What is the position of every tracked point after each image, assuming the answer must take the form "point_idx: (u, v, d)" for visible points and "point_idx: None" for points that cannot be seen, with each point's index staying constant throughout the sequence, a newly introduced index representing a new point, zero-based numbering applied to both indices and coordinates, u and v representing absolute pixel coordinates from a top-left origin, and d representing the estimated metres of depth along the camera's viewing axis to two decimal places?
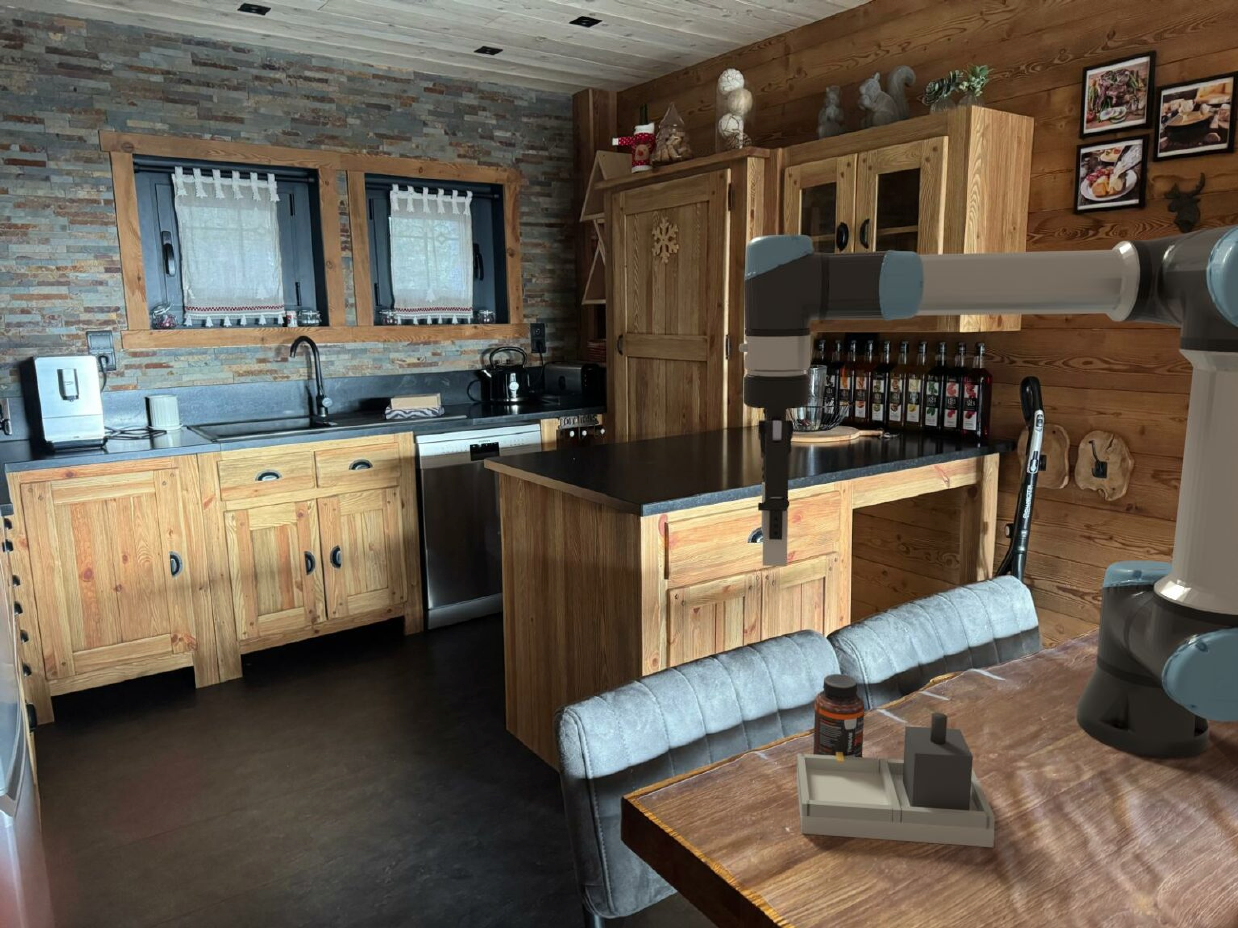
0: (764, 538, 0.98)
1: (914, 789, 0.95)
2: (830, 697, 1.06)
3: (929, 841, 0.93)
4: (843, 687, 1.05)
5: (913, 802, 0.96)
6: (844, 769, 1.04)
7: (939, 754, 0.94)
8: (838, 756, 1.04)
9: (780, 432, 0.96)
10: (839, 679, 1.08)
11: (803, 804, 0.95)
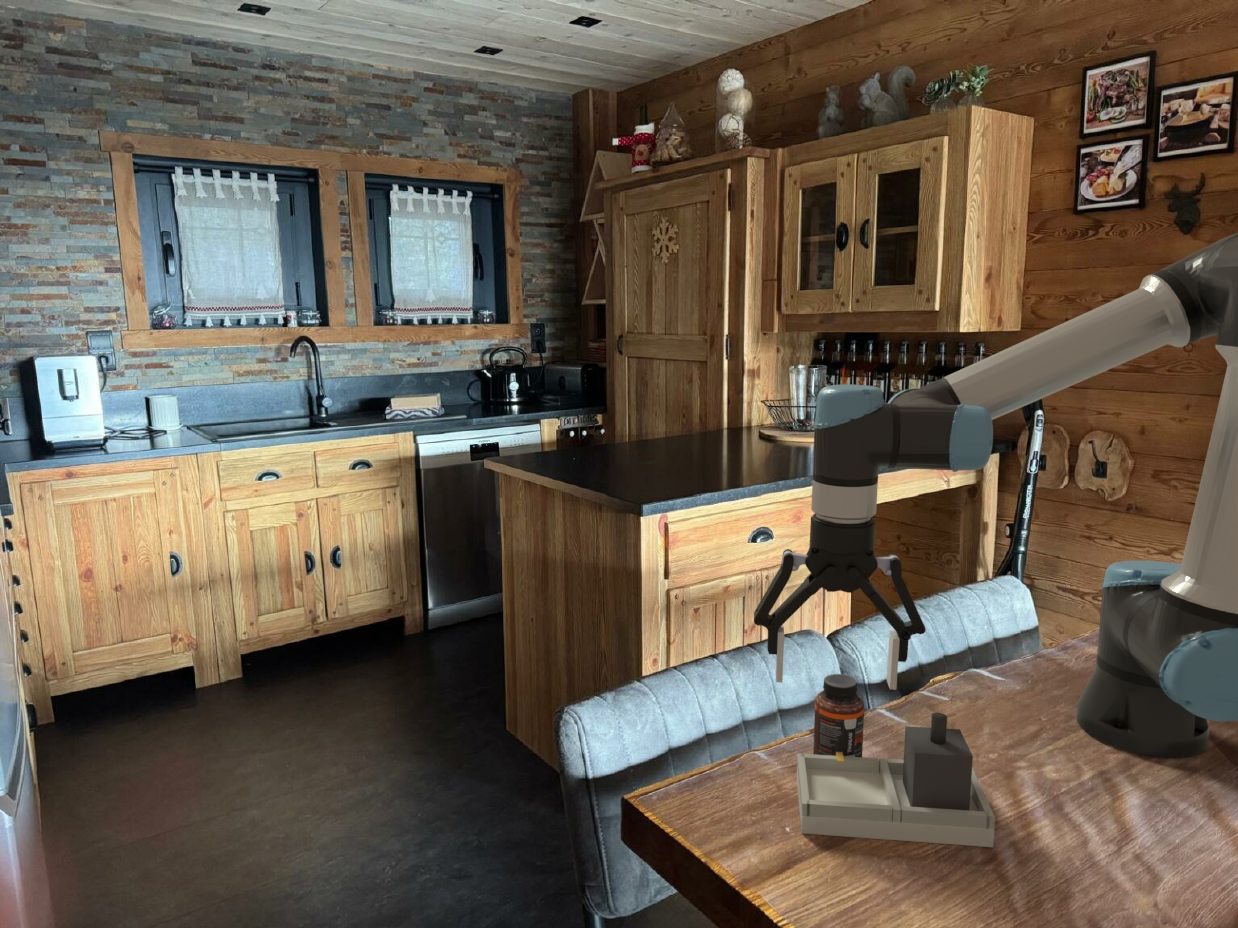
0: None
1: (914, 789, 0.95)
2: (830, 697, 1.06)
3: (929, 841, 0.93)
4: (843, 687, 1.05)
5: (913, 802, 0.96)
6: (844, 769, 1.04)
7: (939, 754, 0.94)
8: (838, 756, 1.04)
9: (782, 561, 1.05)
10: (839, 679, 1.08)
11: (803, 804, 0.95)
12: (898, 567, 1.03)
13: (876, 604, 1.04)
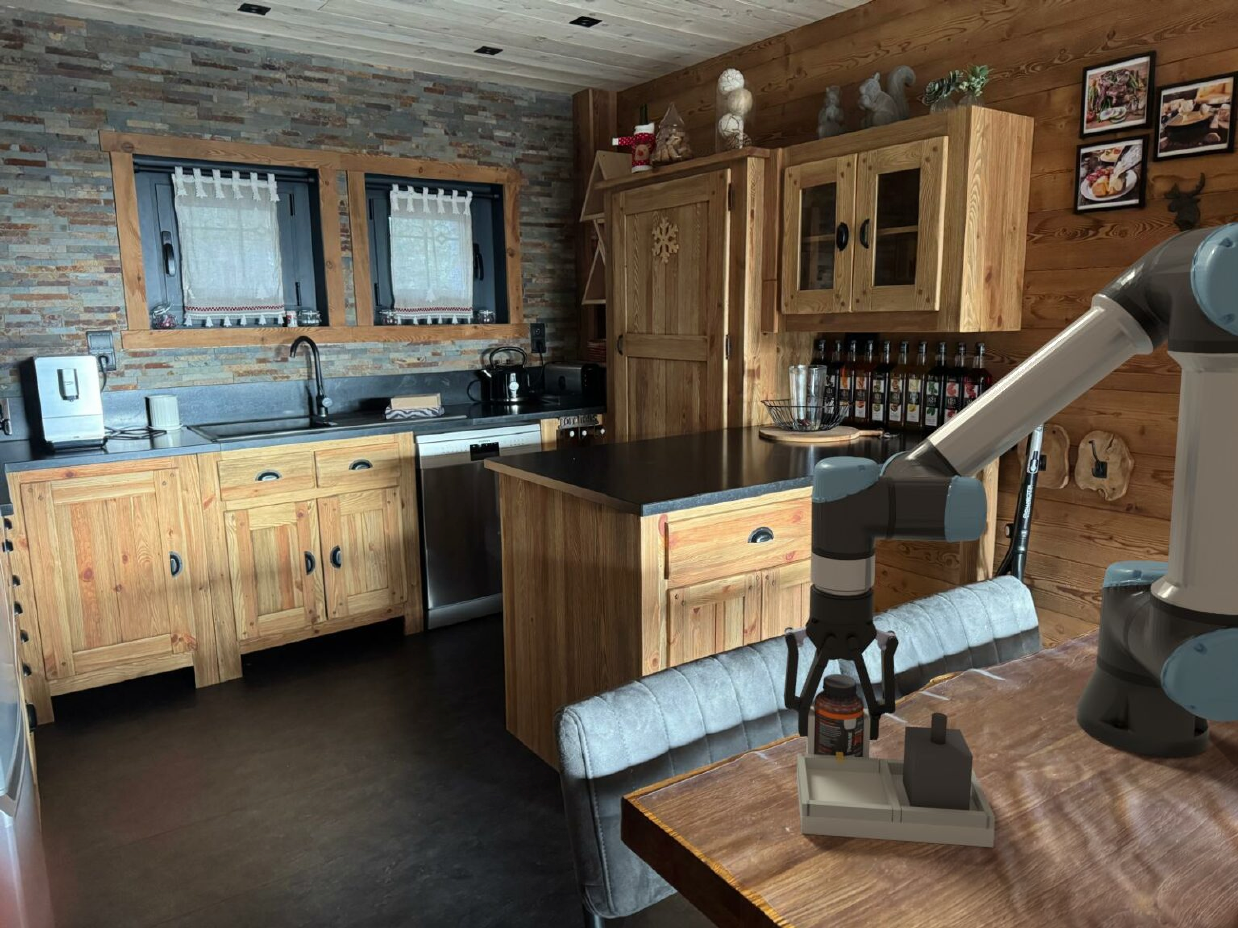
0: None
1: (914, 789, 0.95)
2: (829, 697, 1.06)
3: (929, 841, 0.93)
4: (843, 687, 1.05)
5: (913, 802, 0.96)
6: (844, 769, 1.04)
7: (939, 754, 0.94)
8: (838, 756, 1.04)
9: None
10: (838, 678, 1.08)
11: (803, 804, 0.95)
12: (894, 646, 1.05)
13: (860, 677, 1.06)
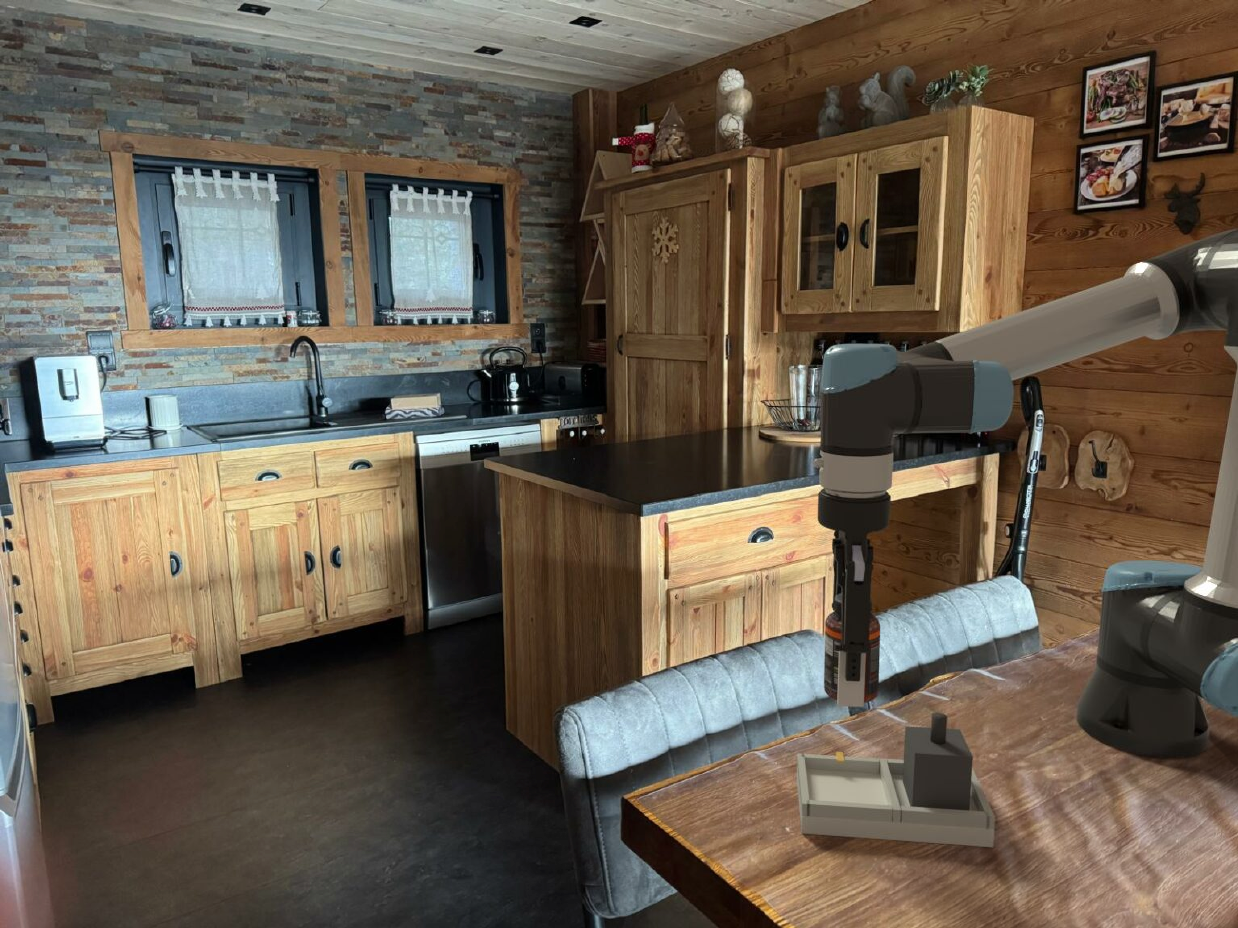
0: (840, 678, 0.93)
1: (914, 789, 0.95)
2: None
3: (929, 841, 0.93)
4: (870, 598, 0.95)
5: (913, 802, 0.96)
6: (844, 769, 1.04)
7: (939, 754, 0.94)
8: (838, 756, 1.04)
9: (862, 575, 0.88)
10: None
11: (803, 804, 0.95)
12: None
13: None
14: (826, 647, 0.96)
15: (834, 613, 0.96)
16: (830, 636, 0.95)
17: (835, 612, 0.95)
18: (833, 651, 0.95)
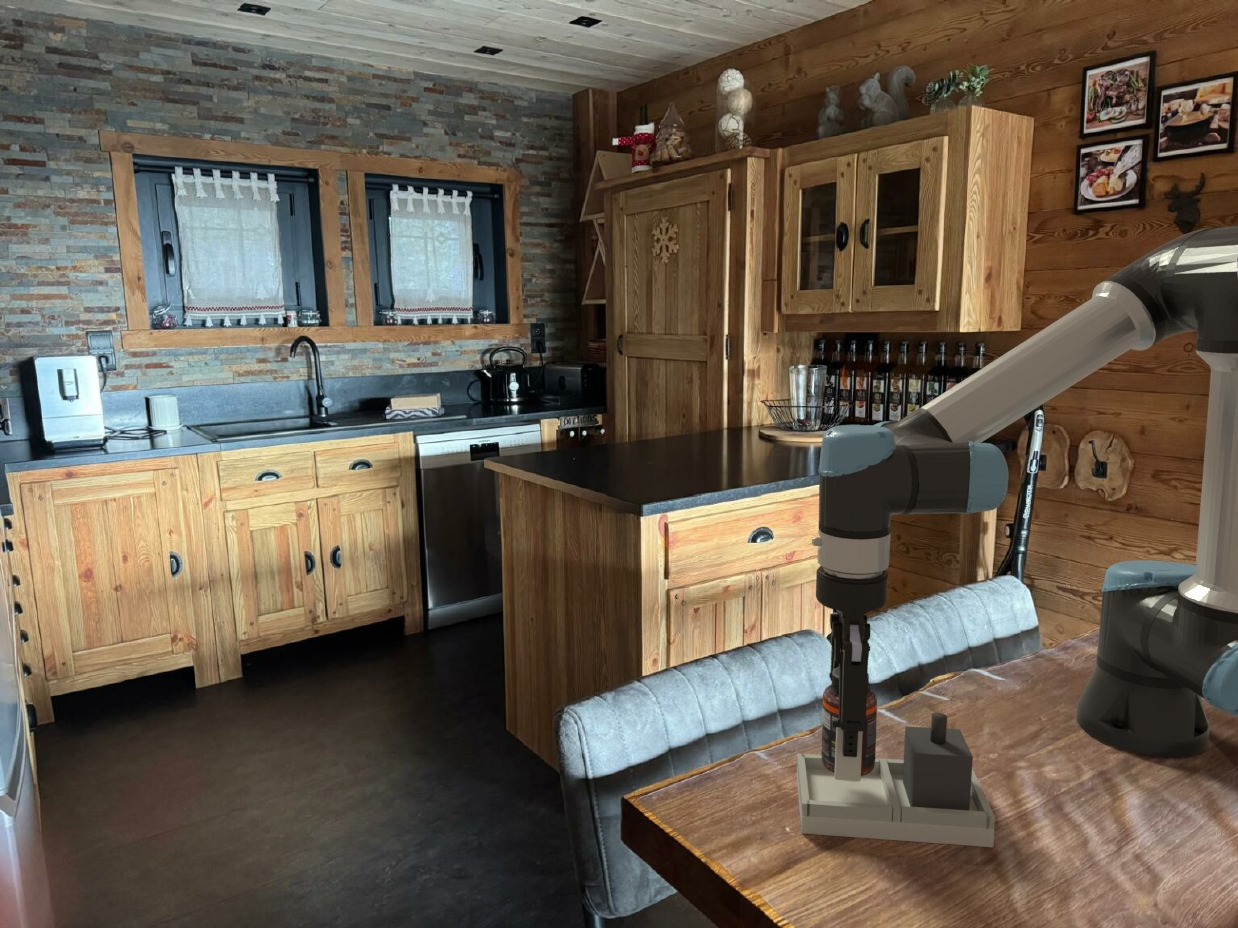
0: (837, 753, 0.95)
1: (914, 789, 0.95)
2: None
3: (929, 841, 0.93)
4: (867, 673, 0.97)
5: (913, 802, 0.96)
6: None
7: (939, 754, 0.94)
8: None
9: (860, 656, 0.90)
10: None
11: (803, 804, 0.95)
12: None
13: None
14: (824, 720, 0.98)
15: (832, 687, 0.97)
16: (827, 711, 0.97)
17: (833, 686, 0.97)
18: (830, 725, 0.96)
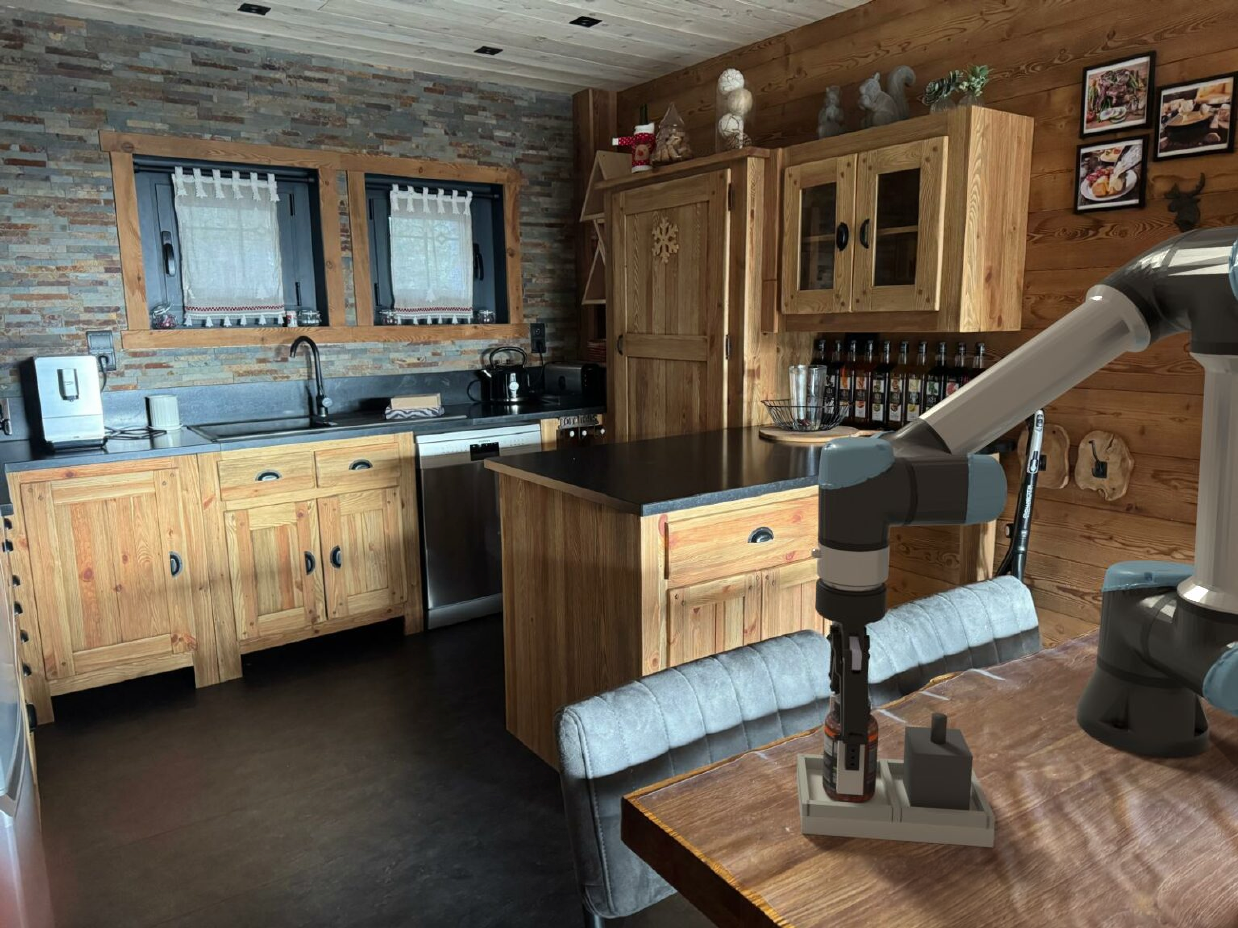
0: (839, 766, 0.94)
1: (914, 789, 0.95)
2: None
3: (929, 841, 0.93)
4: (869, 699, 0.98)
5: (913, 802, 0.96)
6: None
7: (939, 754, 0.94)
8: None
9: (860, 664, 0.90)
10: None
11: (803, 804, 0.95)
12: None
13: None
14: (825, 746, 0.98)
15: (834, 713, 0.98)
16: (829, 737, 0.97)
17: (835, 712, 0.98)
18: (832, 751, 0.97)
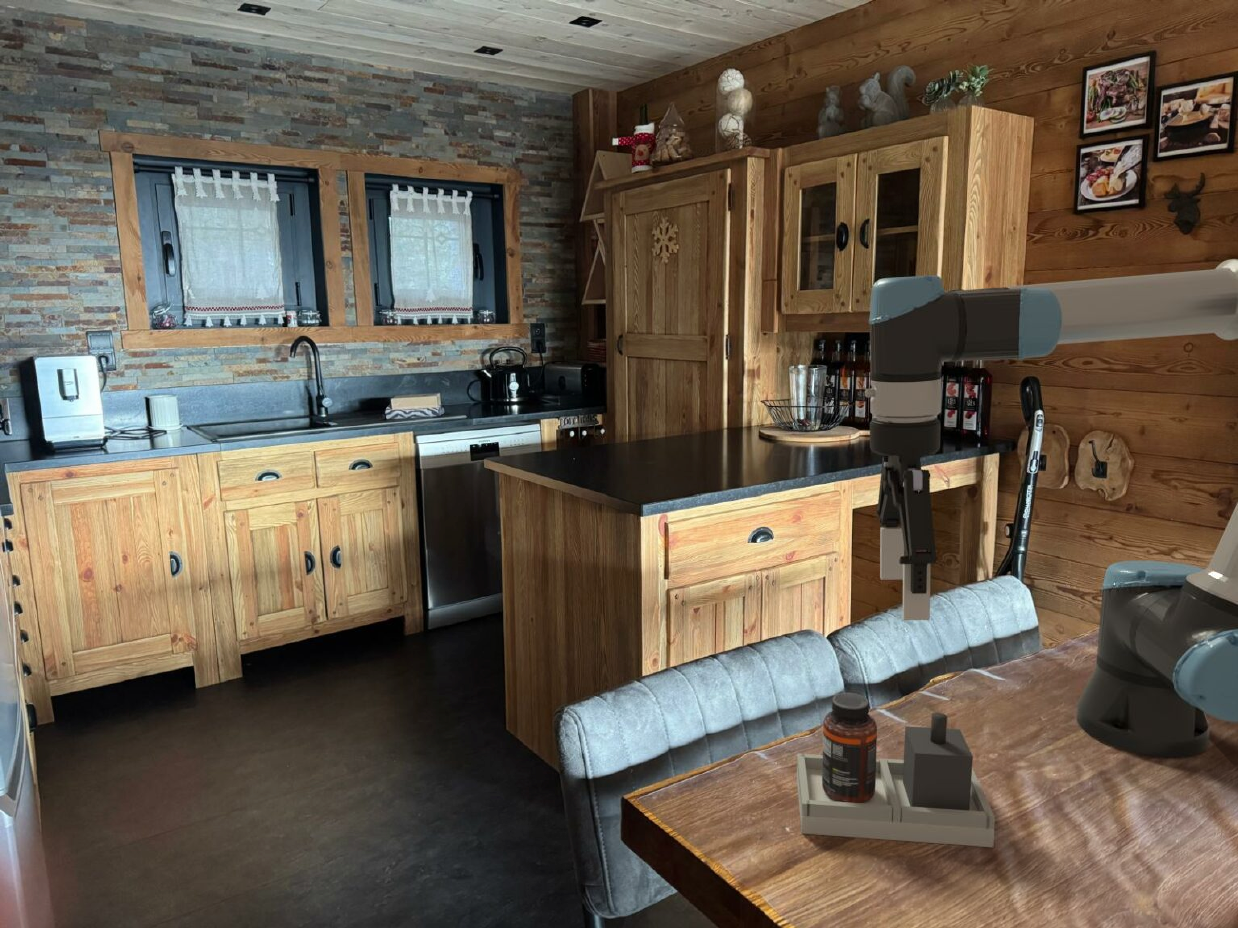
0: (905, 592, 0.94)
1: (914, 789, 0.95)
2: (865, 720, 0.96)
3: (929, 841, 0.93)
4: (867, 700, 0.98)
5: (913, 802, 0.96)
6: None
7: (939, 754, 0.94)
8: None
9: (921, 482, 0.92)
10: (848, 700, 0.98)
11: (803, 804, 0.95)
12: None
13: None
14: (824, 747, 0.98)
15: (832, 714, 0.98)
16: (828, 738, 0.97)
17: (833, 714, 0.98)
18: (831, 752, 0.97)
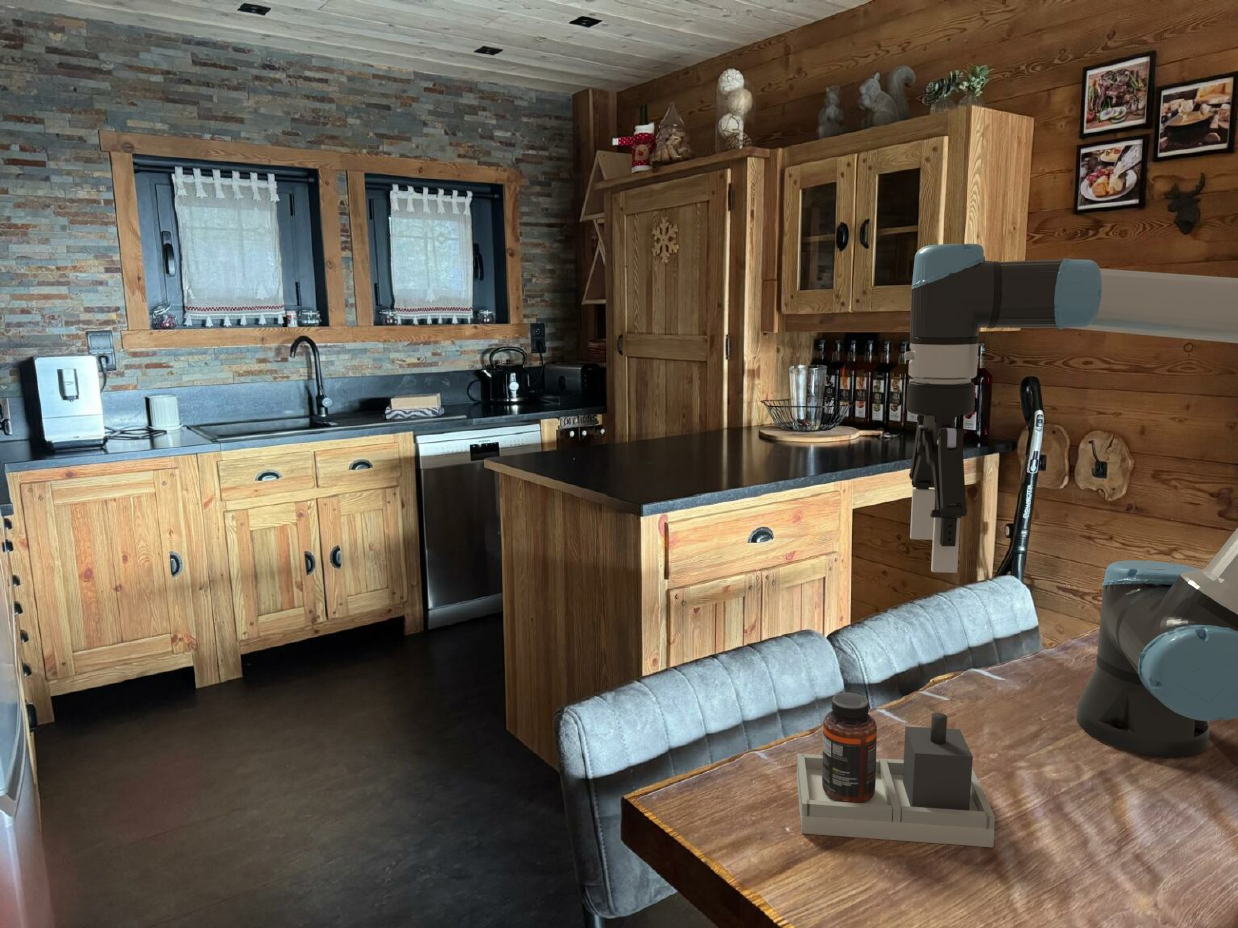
0: (935, 545, 0.99)
1: (914, 789, 0.95)
2: (865, 719, 0.97)
3: (929, 841, 0.93)
4: None
5: (913, 802, 0.96)
6: None
7: (939, 754, 0.94)
8: None
9: (955, 440, 0.96)
10: (847, 700, 0.98)
11: (803, 804, 0.95)
12: None
13: None
14: (824, 747, 0.98)
15: (832, 714, 0.98)
16: (828, 738, 0.97)
17: (833, 713, 0.98)
18: (831, 752, 0.97)
